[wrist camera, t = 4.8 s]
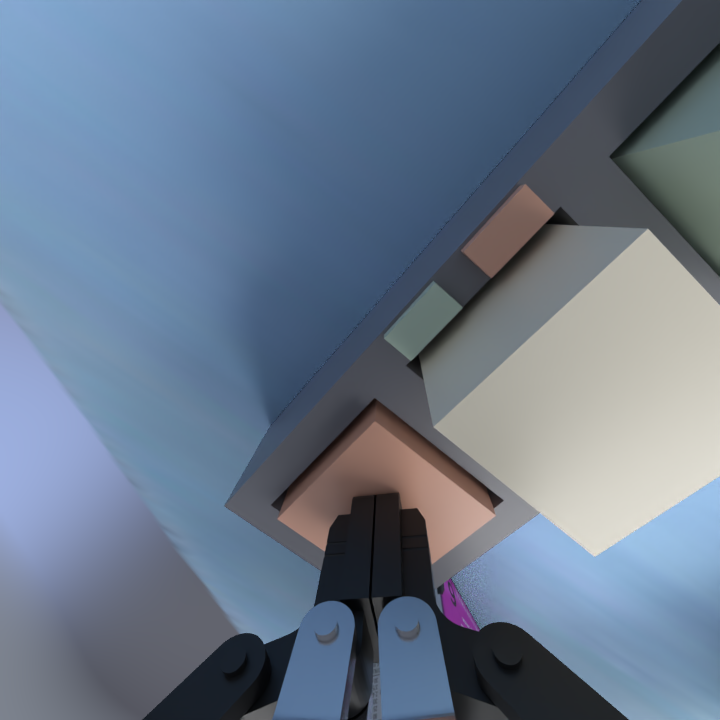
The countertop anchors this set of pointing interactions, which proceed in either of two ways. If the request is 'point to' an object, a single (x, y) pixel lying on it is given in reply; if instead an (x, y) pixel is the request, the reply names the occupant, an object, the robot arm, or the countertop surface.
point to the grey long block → (492, 266)
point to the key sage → (682, 158)
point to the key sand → (585, 380)
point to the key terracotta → (387, 482)
